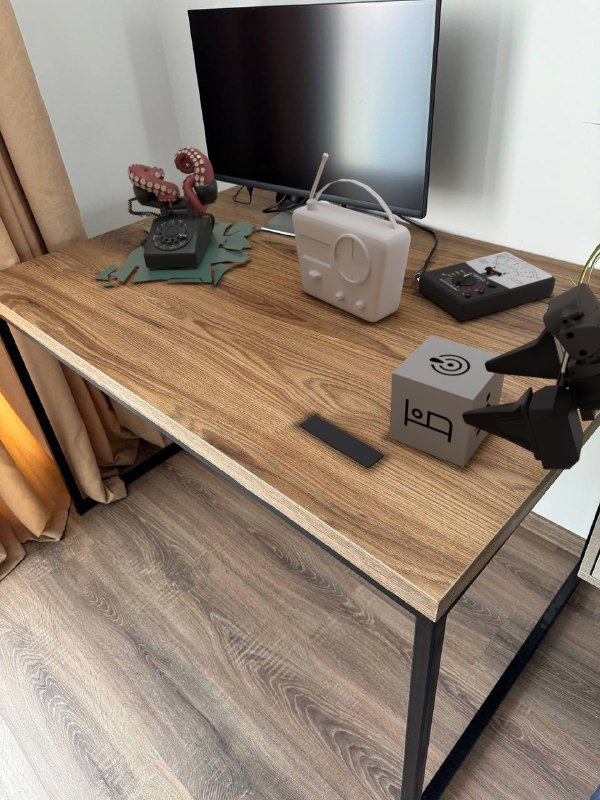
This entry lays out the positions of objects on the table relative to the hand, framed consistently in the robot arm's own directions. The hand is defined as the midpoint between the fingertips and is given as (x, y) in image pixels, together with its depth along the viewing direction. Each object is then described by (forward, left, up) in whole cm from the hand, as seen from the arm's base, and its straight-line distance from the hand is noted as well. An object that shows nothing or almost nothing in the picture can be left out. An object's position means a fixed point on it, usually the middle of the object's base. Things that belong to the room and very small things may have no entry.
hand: (475, 390), depth 58 cm
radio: (+16, -45, -14) cm, 50 cm away
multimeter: (-8, -49, -14) cm, 51 cm away
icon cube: (+1, -11, -14) cm, 18 cm away
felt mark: (+14, -8, -14) cm, 22 cm away
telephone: (+53, -68, -14) cm, 87 cm away
